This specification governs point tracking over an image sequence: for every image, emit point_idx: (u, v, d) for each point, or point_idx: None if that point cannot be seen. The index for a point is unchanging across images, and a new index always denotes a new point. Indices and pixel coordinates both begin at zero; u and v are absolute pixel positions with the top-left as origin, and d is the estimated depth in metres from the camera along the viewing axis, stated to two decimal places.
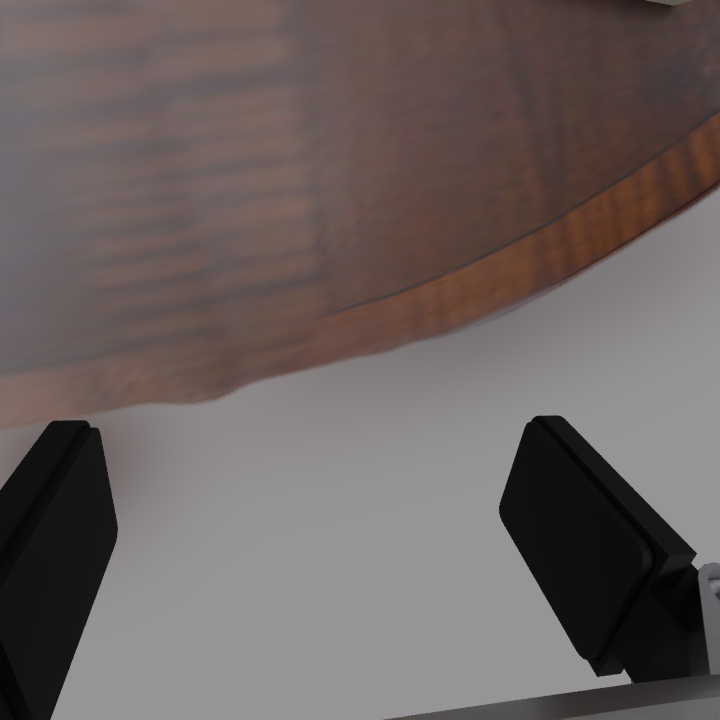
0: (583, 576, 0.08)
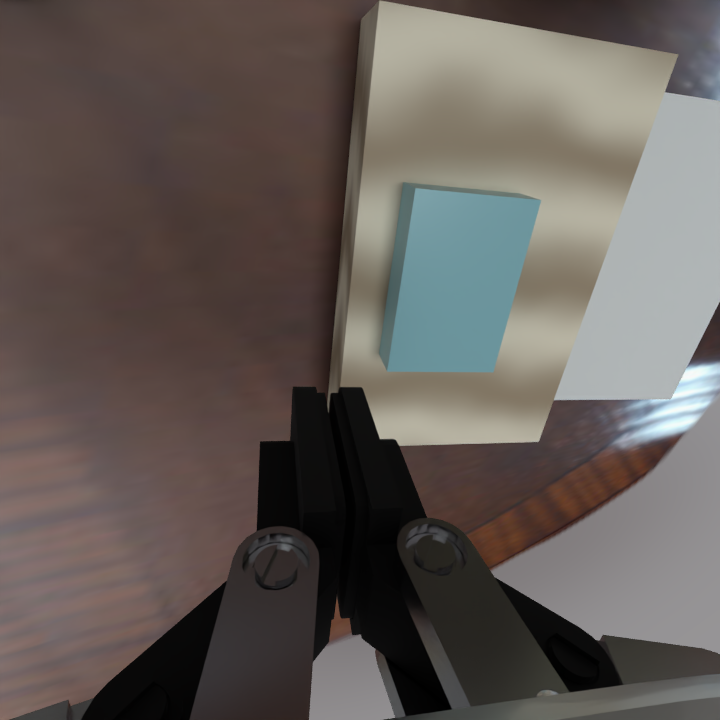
0: None
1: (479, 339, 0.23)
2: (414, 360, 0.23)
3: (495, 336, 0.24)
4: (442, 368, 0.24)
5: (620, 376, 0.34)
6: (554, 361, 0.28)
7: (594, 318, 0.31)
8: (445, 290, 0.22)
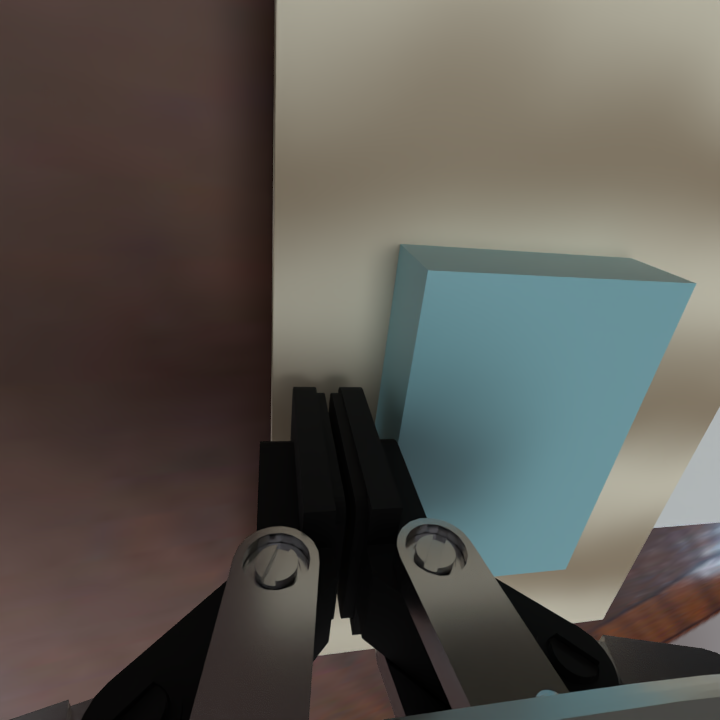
0: None
1: (546, 525, 0.12)
2: None
3: (575, 519, 0.13)
4: None
5: (715, 494, 0.23)
6: (639, 516, 0.16)
7: None
8: (486, 456, 0.11)
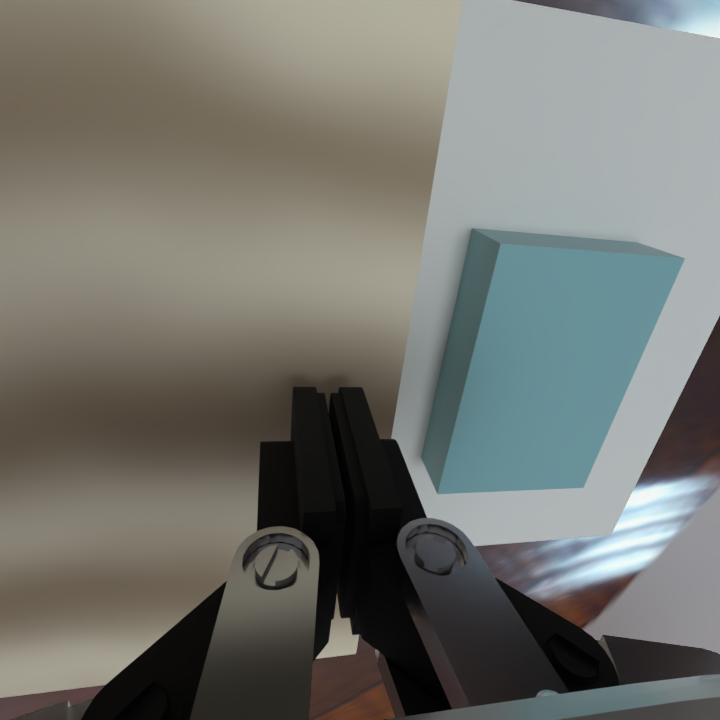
0: None
1: None
2: None
3: None
4: None
5: (520, 511, 0.21)
6: None
7: None
8: None
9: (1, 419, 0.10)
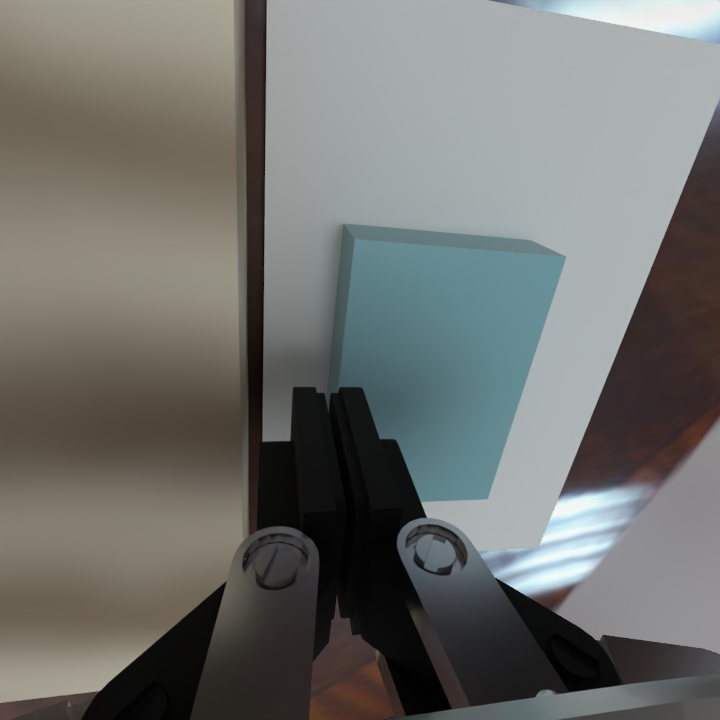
0: None
1: None
2: None
3: None
4: None
5: None
6: (211, 557, 0.13)
7: None
8: None
9: None
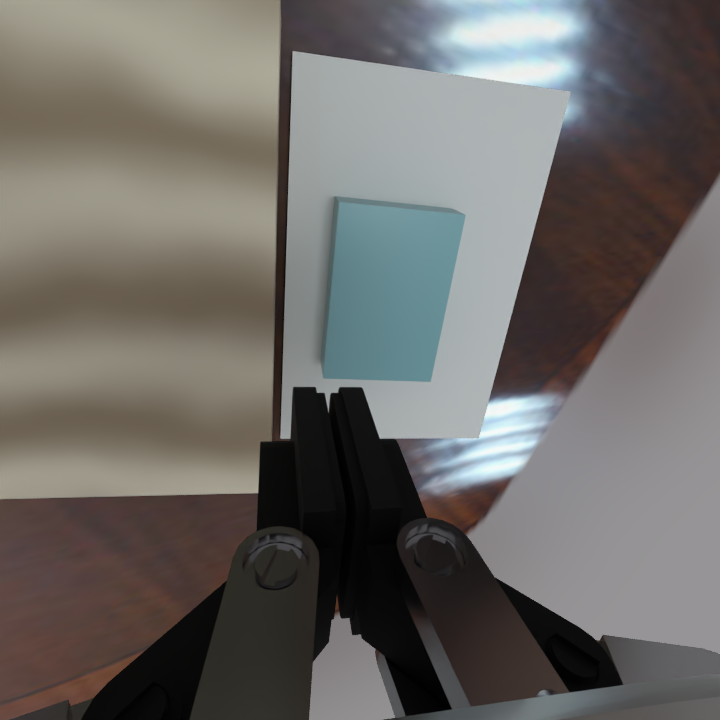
0: None
1: None
2: None
3: None
4: None
5: (402, 411, 0.28)
6: (253, 396, 0.22)
7: None
8: None
9: (41, 292, 0.18)
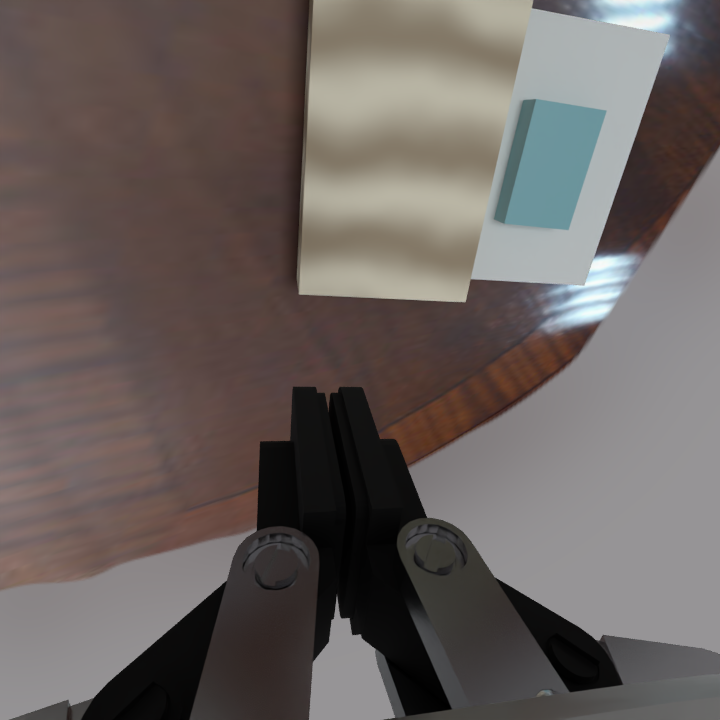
0: None
1: None
2: None
3: None
4: None
5: (538, 260, 0.42)
6: (471, 227, 0.35)
7: None
8: None
9: (373, 146, 0.31)
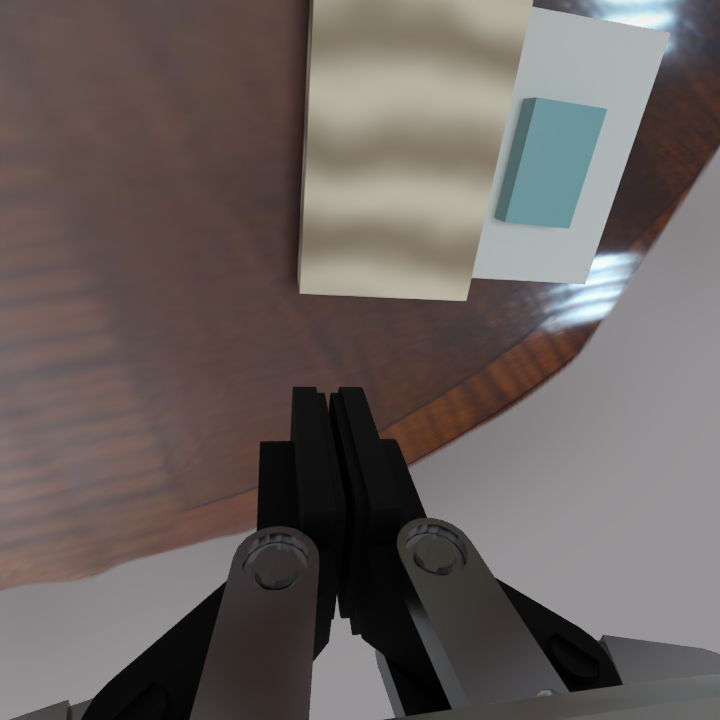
0: None
1: None
2: None
3: None
4: None
5: (539, 259, 0.42)
6: (472, 225, 0.35)
7: None
8: None
9: (374, 145, 0.31)
